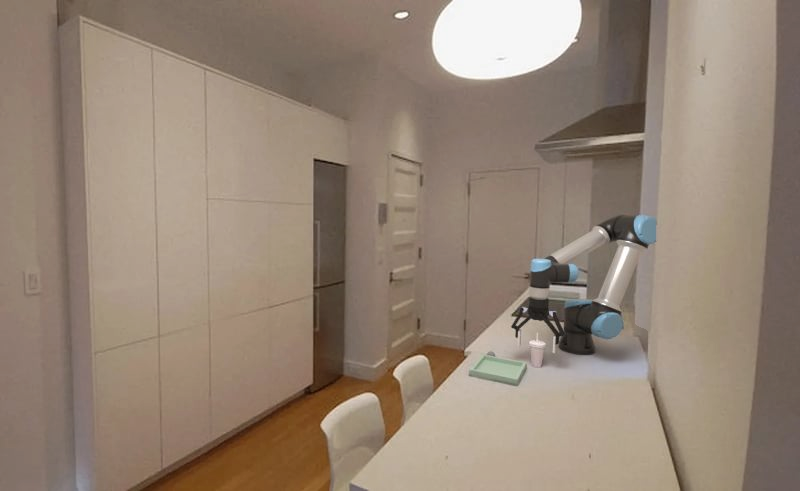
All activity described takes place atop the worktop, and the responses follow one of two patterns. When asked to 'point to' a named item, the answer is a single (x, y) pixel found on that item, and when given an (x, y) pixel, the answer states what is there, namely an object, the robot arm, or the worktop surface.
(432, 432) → the worktop surface
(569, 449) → the worktop surface
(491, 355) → the gray ball
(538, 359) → the smoothie
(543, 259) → the robot arm
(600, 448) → the worktop surface
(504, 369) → the tray
